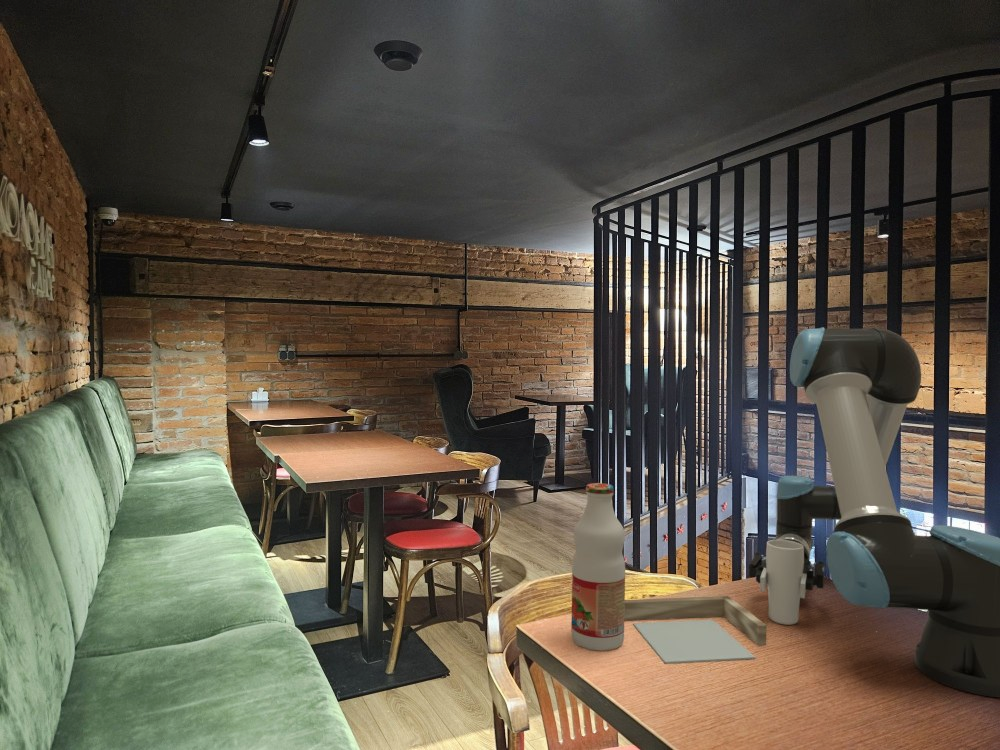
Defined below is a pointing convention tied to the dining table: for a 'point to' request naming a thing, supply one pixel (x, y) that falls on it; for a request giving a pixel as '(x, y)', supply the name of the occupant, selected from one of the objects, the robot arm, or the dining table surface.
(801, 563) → the drinking glass
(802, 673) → the dining table surface
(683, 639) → the pad
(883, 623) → the dining table surface
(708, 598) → the birch walls
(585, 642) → the fruit juice
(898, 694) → the dining table surface
